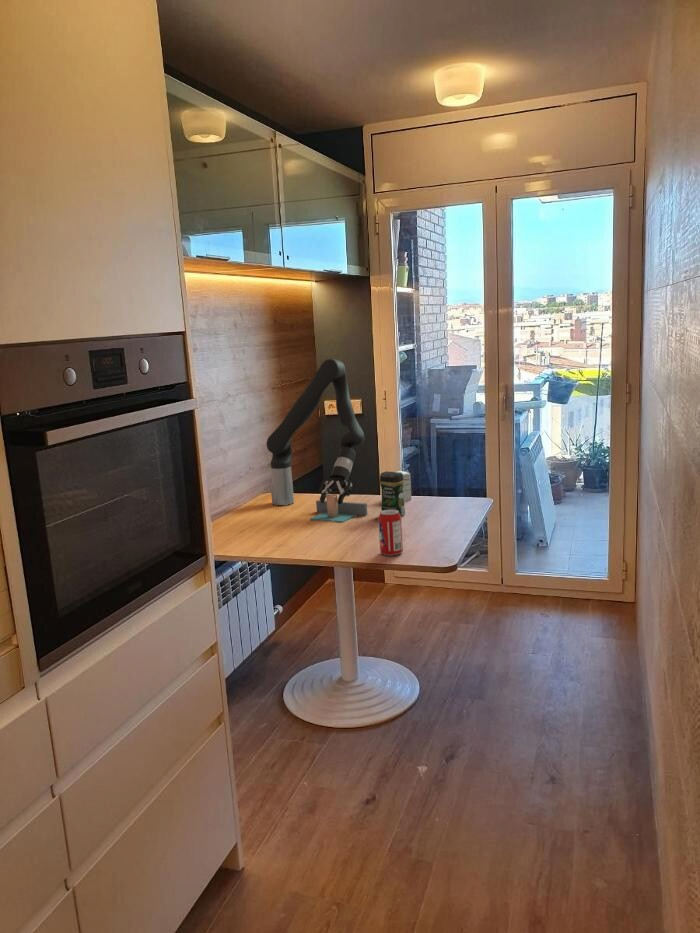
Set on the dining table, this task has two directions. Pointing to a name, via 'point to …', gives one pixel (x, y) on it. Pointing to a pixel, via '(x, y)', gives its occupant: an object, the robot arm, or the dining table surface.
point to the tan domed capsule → (332, 506)
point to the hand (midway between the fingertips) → (330, 502)
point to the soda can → (390, 532)
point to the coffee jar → (392, 491)
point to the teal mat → (340, 518)
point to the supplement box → (406, 486)
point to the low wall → (345, 508)
